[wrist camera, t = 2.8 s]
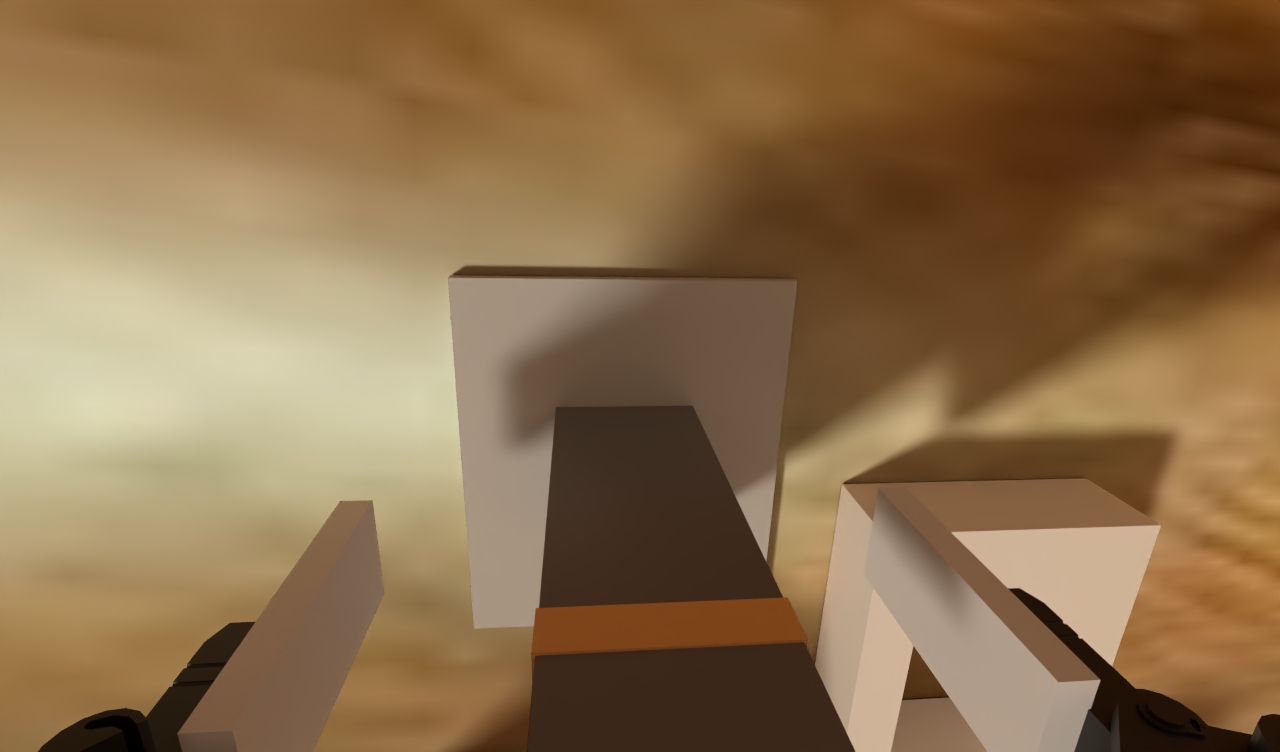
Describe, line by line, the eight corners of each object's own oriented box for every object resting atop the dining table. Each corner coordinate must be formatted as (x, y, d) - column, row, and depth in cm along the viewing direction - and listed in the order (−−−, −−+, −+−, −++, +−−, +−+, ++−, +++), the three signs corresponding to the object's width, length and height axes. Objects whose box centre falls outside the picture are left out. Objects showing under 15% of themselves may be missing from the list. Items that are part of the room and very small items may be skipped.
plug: (554, 405, 19) (519, 777, 7) (694, 404, 19) (862, 753, 8) (556, 528, 20) (531, 997, 9) (687, 524, 21) (821, 967, 9)
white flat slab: (450, 275, 18) (447, 277, 17) (793, 278, 19) (797, 281, 18) (475, 620, 22) (474, 628, 21) (757, 608, 23) (760, 615, 22)
